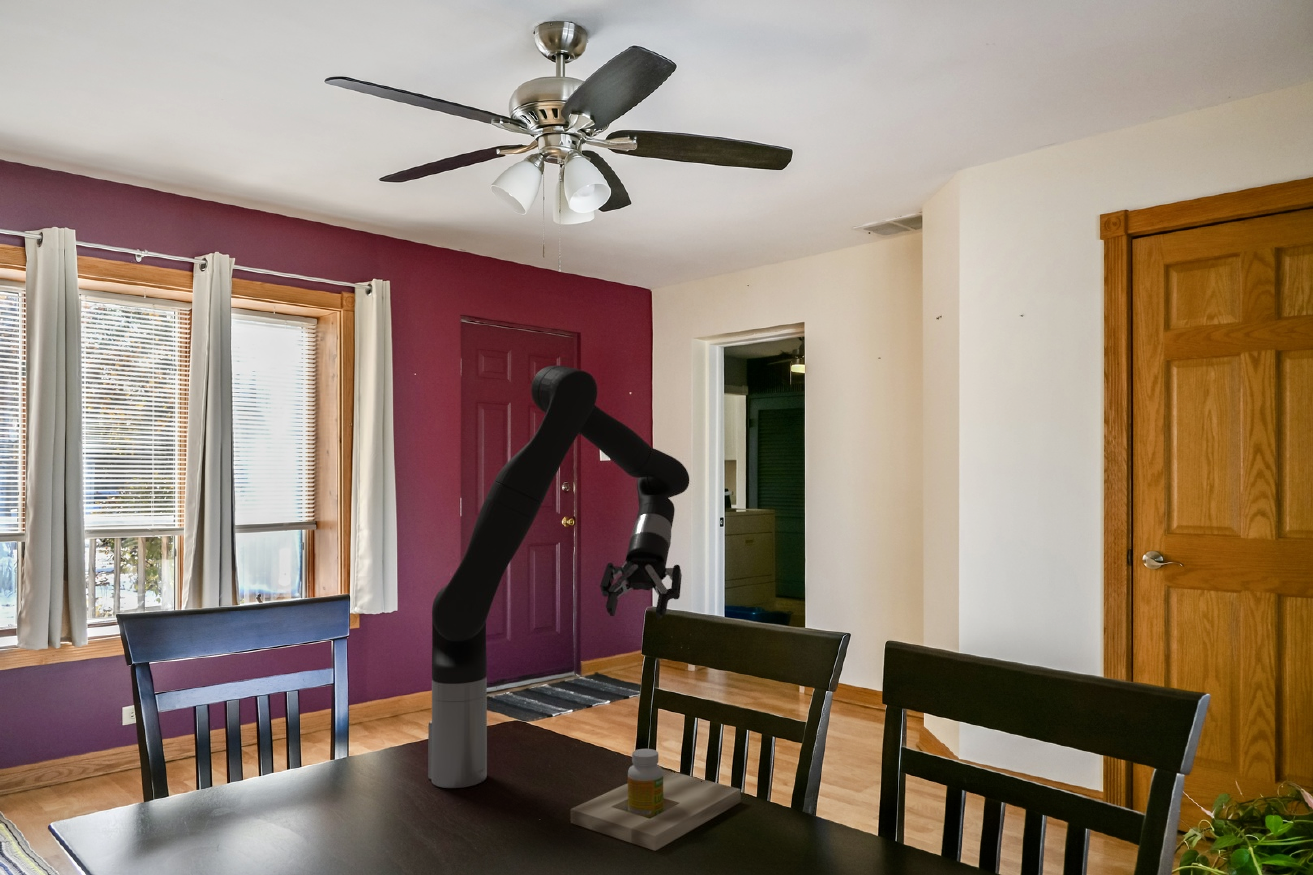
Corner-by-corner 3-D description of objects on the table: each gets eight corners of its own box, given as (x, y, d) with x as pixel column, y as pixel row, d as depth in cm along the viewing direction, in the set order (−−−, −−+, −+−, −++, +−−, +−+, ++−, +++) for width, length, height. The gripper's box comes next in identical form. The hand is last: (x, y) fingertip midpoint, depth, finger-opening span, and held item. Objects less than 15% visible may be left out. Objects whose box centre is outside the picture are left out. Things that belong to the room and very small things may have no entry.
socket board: (570, 822, 128) (570, 809, 128) (660, 780, 145) (660, 768, 145) (655, 850, 118) (655, 835, 118) (740, 801, 135) (740, 788, 135)
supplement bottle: (659, 826, 126) (659, 759, 127) (624, 823, 127) (623, 757, 128) (666, 812, 131) (666, 747, 132) (632, 809, 132) (632, 745, 133)
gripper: (609, 529, 160) (591, 599, 148) (684, 531, 157) (671, 602, 145) (616, 555, 165) (599, 625, 153) (689, 557, 162) (677, 629, 150)
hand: (634, 614), depth 149 cm, fingers open, 8 cm apart
